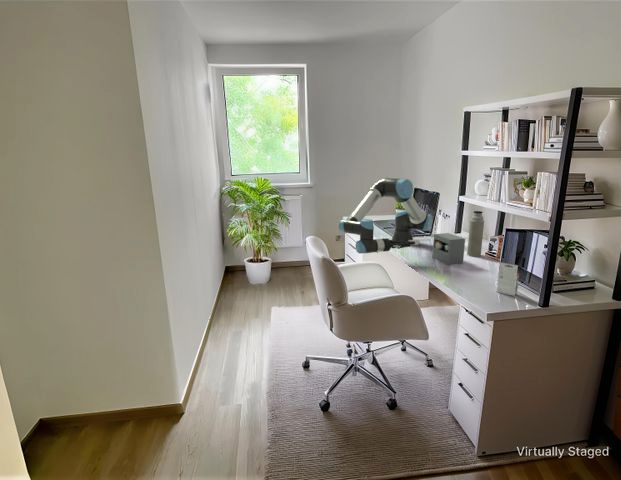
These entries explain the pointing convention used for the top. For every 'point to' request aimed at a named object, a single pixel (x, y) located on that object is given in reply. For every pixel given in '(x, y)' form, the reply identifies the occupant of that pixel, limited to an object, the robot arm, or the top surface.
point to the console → (449, 249)
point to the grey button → (439, 246)
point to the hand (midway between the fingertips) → (418, 241)
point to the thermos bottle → (475, 234)
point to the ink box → (507, 279)
